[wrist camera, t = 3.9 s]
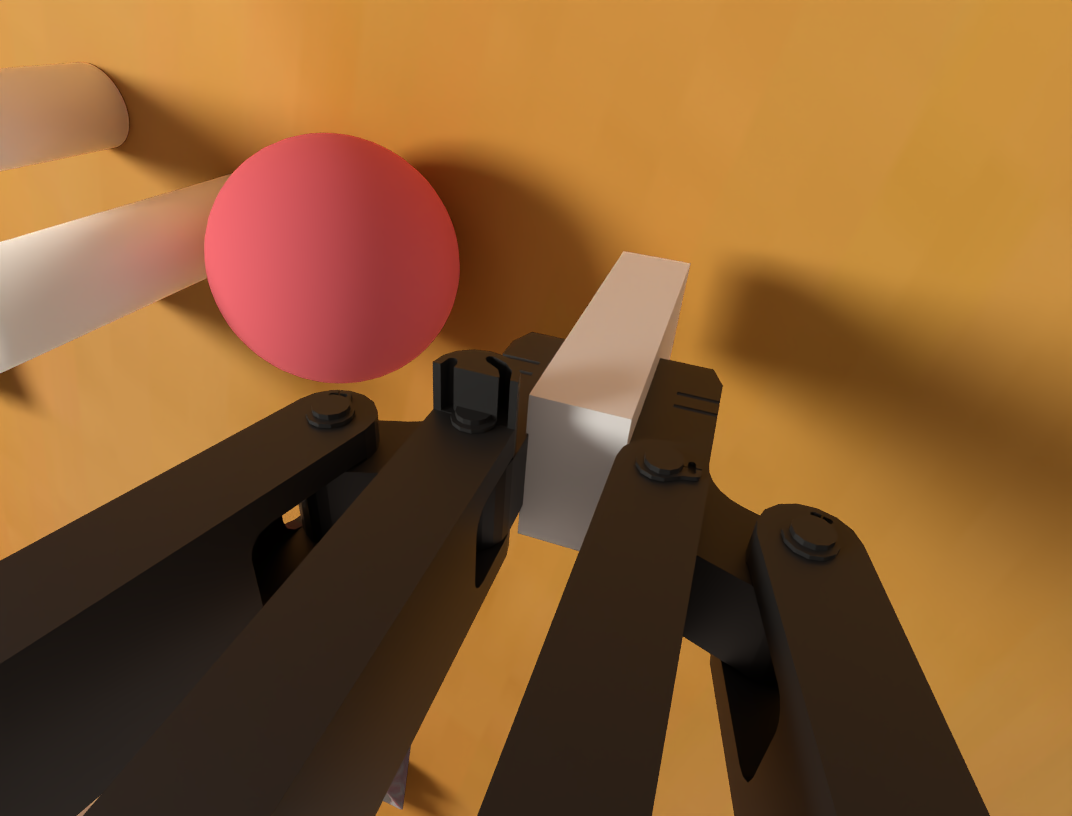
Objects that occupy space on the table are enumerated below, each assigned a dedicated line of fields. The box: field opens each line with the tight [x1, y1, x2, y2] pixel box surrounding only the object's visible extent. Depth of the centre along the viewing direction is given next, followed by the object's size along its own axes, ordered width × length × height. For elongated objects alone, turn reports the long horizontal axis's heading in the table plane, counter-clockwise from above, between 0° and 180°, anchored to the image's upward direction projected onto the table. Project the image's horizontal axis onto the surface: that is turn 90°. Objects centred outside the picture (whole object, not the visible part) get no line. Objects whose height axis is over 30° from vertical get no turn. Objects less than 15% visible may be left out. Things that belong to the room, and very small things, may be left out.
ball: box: [204, 133, 460, 383], centre depth 16 cm, size 6×6×6 cm
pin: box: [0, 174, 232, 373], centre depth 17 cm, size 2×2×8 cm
